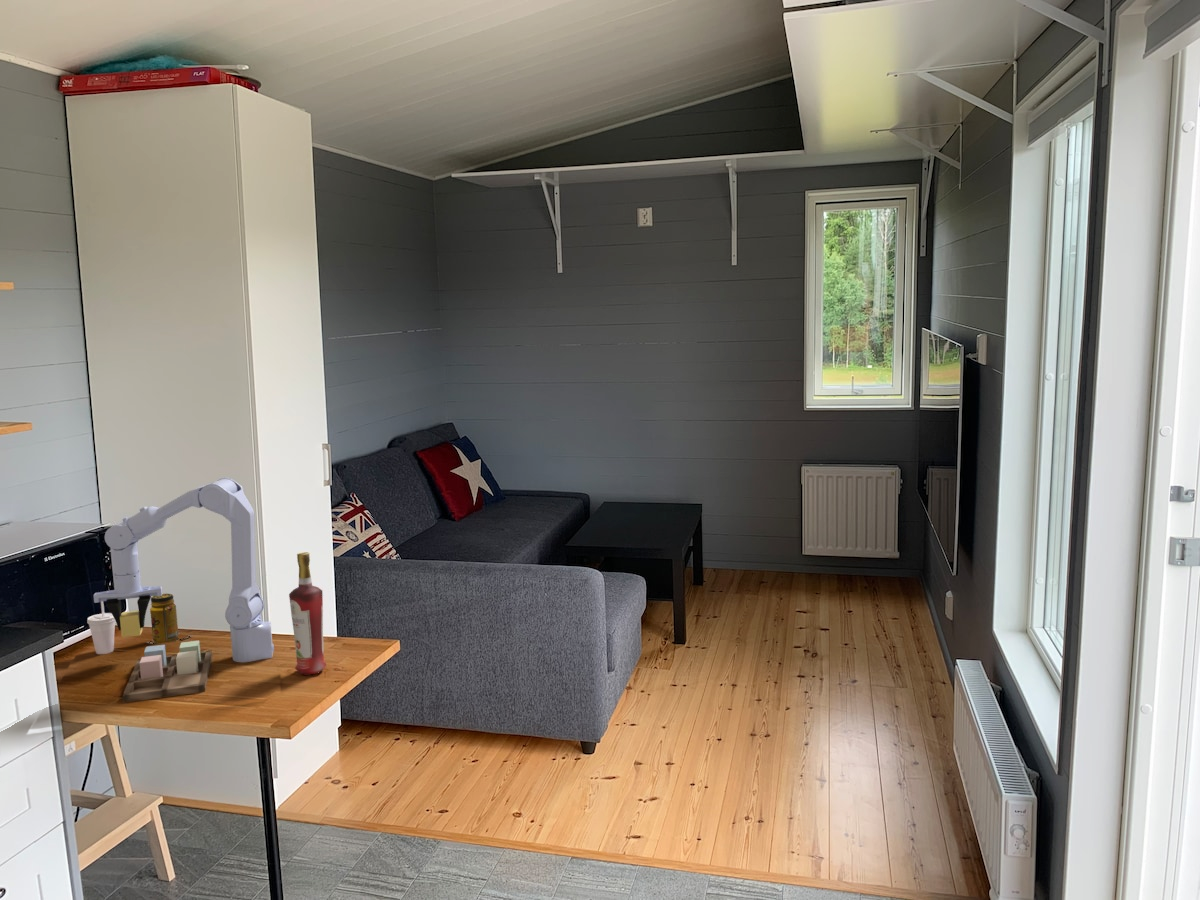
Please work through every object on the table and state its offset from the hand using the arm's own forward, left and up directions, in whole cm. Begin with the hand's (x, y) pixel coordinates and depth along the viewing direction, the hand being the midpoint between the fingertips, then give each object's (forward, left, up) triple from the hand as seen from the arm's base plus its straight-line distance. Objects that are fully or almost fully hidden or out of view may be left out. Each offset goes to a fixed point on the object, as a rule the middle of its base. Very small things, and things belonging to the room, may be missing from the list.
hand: (131, 627), depth 227 cm
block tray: (-9, +16, -9) cm, 21 cm away
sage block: (-13, +8, -8) cm, 18 cm away
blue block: (-6, +8, -8) cm, 13 cm away
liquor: (-40, +22, -9) cm, 47 cm away
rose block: (-6, +16, -8) cm, 19 cm away
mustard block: (0, 0, -2) cm, 2 cm away
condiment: (-6, -16, -9) cm, 19 cm away
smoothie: (+8, -10, -9) cm, 16 cm away
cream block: (-13, +16, -8) cm, 22 cm away
